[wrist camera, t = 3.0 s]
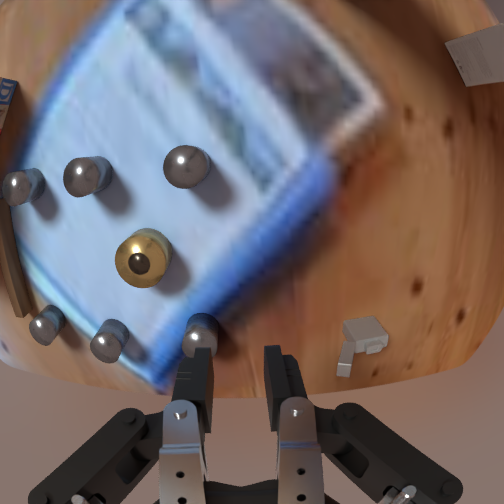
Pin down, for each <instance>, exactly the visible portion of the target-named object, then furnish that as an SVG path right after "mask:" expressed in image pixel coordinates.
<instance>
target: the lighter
mask: <svg viewBox="0 0 504 504" xmlns="http://www.w3.org/2000/svg"><path fill="white" fill-rule="evenodd" d="M343 333H344V335H345V337H346V338H347V340H348V341H344V342H343V346H342V350H341V354H340V358H339V362H338V367H337V375H336V376H342V377H349V376H350V372H351V367H352V362H353V357H354V353H359V352H364V351H365V352H366V354H372V353H376V352H380V351H381V349H382V348H383V347H386V346H387V343H388V337H389V335H388V334H387V333H386V331H385V330H384V329H383V327H382V326H381V325H380V323H379V322H378V321H377V319H376V318H375V317H374V316H369V317H363V318H357V319H351V320H345V321H344V322H343Z"/></svg>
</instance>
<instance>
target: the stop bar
mask: <svg viewBox="0 0 504 504" xmlns="http://www.w3.org/2000/svg"><path fill="white" fill-rule="evenodd" d="M0 265H1V269H2V273H3V276H4V280H5V284H6V287H7V291H8V294H9V297H10V300H11V303H12V306H13V309H14V312H15V315H16V317H21V318H24V317H25V316H26V315H27V314H28V313H29V312H30V311H31V310H32V309H33V308H32V305H31V302H30V299H29V295H28V292H27V288H26V285H25V281H24V277H23V273H22V269H21V265H20V261H19V257H18V252H17V247H16V242H15V237H14V232H13V226H12V219H11V213H10V205H8V204H7V203H6V201H5V200H4V198H2V199H0Z"/></svg>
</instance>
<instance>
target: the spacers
mask: <svg viewBox="0 0 504 504" xmlns="http://www.w3.org/2000/svg"><path fill="white" fill-rule="evenodd" d="M209 170H210V159H209V156H208V155H207V153H206V152H205V151H204V150H202V149H201V148H199V147H194V146H188V145H183V146H178V147H176V148H174V149H173V150H171V151H170V152H169V153H168V154H167V156H166V158H165V160H164V164H163V171H164V175H165V177H166V179H167V180H168V182H169V183H170V184H172V185H173V186H175V187H177V188H182V189H187V188H191V187H194V186H196V185H197V184H198V183H200V182H201V181H202V180H203V179H204V178H205V177H206V176H207V175H208V173H209ZM111 179H112V167H111V165H110V163H109V162H108V160H107V159H105V158H103V157H100V156H95V157H83V158H76V159H73V160H72V161H70V162H69V163H68V165H67V166H66V168H65V170H64V175H63V182H64V186H65V188H66V190H67V191H68V193H69V194H71V195H72V196H74V197H84V196H86V195H89V194H92V193H95V192H98V191H101V190H103V189H105V188H106V187H107V186H108V185H109V183H110V182H111ZM44 186H45V182H44V177H43V175H42V173H41V172H40V171H39V170H38V169H36V168H32V169H26V170H21V171H15V172H11V173H9V174H7V175H6V177H5V178H4V181H3V185H2V193H3V197H4V200H5V201H6V203H7V204H8V205H10V206H17V205H20V204H23V203H26V202H29V201H32V200H35V199H37V198H39V197H40V196H41V195H42V193H43V191H44ZM65 324H66V320H65V317H64V315H63V313H62V312H61V310H60V309H58V308H57V307H56V306H53V305H48V306H46V307H45V308H44V309H43V310H42V311H41V312H40V313H39V314H38V315H37V316H36V317H35V318H34V319H33V320H32V321H31V322H30V324H29V329H30V333H31V335H32V336H33V338H34V339H35V340H36V341H37V342H38V343H40V344H42V345H45V346H48V345H50V344H51V343H52V341H53V340H54V339H55V338H56V336H57V335H58V334H59V333H60V331H61V330H62V329H63V328H64V326H65ZM218 330H219V326H218V322H217V321H216V319H215V318H214V317H213V316H211V315H209V314H206V313H197V314H194V315H193V316H191V317H190V318H189V320H188V322H187V326H186V330H185V334H184V338H183V342H182V349H183V352H184V353H185V354H186V355H187V356H188V357H192V358H194V353H195V348H196V347H211V352H212V358H213V357H214V356H215V354H216V352H217V343H218ZM128 338H129V332H128V330H127V328H126V326H125V325H124V324H123V323H121V322H120V321H118V320H115V319H108V320H106V321H105V322H104V323H103V324H102V326H101V327H100V329H99V330H98V332H97V333H96V335H95V336H94V338H93V339H92V341H91V343H90V348H91V351H92V353H93V354H94V356H95V357H96V358H97V359H99V360H100V361H102V362H105V363H114V362H116V361H117V360H118V358H119V356H120V354H121V352H122V350H123V348H124V346H125V344H126V342H127V340H128Z"/></svg>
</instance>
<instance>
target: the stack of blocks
mask: <svg viewBox="0 0 504 504" xmlns="http://www.w3.org/2000/svg"><path fill="white" fill-rule="evenodd" d="M16 85H17V81H14V80H10V79H5V78H2V77H0V134H1V129H2V128H3V124H4V121H5V117H6V114H7V111H8V108H9V104H10V102H11V99H12V96H13V93H14V90H15V87H16Z"/></svg>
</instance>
